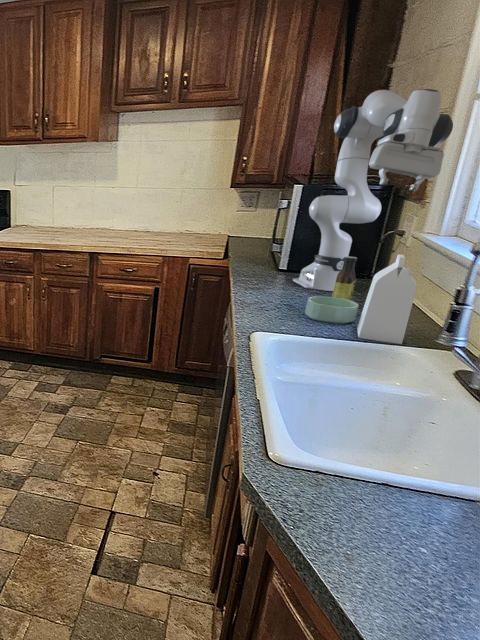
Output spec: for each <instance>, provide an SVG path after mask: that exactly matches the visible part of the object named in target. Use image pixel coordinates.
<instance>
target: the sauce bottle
mask: <svg viewBox="0 0 480 640" xmlns="http://www.w3.org/2000/svg"><path fill="white" fill-rule="evenodd" d="M357 261H358V257H356V256H348V257H344V263H343V267H342V270H341V271H340V272H339V273H338V275H337V278H336V282H335V285H334V290H333V291H332V294H331V297H336V298H342V299H347V300H351V301H352V297H353V293H354V290H355V285H356V281H357V278H356V272H355V267H356V263H357Z"/></svg>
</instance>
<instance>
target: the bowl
mask: <svg viewBox="0 0 480 640" xmlns="http://www.w3.org/2000/svg"><path fill="white" fill-rule="evenodd" d="M359 307H360V306H359V304H358V303H357V302H355V301H354V300H352V299H351V300H347V299H342V298H336V297H332V296H327V295H326V296H325V295H324V296H322V295H314V296H309V297H308V298H307V302H306V305H305V310H304V314H305V316H307V317H308V318H310V319H312V320H314V321H318V322H322V323H328V324H339V325H340V324H343V325H344V324H349V323H351V322H353V321H356V317H357V314H358V310H359Z"/></svg>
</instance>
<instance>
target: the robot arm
mask: <svg viewBox="0 0 480 640" xmlns="http://www.w3.org/2000/svg"><path fill="white" fill-rule="evenodd" d="M441 103H442V93H441V91H439V90H438V89H432V88H418V89H416V90H413V91H412V92H411V94H410V95H409V98H408V100H406V99H405V98H403V96H401V95H399V94H397V93H396V92H395V91H392V90H388V89H378V90H374V91H373V92H371V93H370V94H369V95H367V97H366V98H365V99H364V101H363V103H362V106H359V107H358V106H356V105H352V106H351V107H350V108H346V109H344V110H342V111H341V112H340V113H338V115H337V117H336V119H335V121H334V124H333V133H334V135H335V136H336V137H338V138H341V139H343V141H342V143H341V147H340V149H339V153H338V157H337V162H336V168H335V173H334V182H335V184H337V186H339V187H341V188H343V189H345V190H346V192H347V195H342V194H341V195H340V194H339V195H337V194H328V195H320V196H316V197H315V198H314V199H313V200H312V202H311V203H310V205H309V207H308V213H309V217H310V218H311V219H312V220H313V221H314V222H315V223H316V225H317V226H318V227H319V230H320V234H321V235H320V237H321V238H320V245H319V250H318V254H314V256H313V258H314V260H313V262H312V263H310V264H309V265H306V266H304V267H303V268H302V269H301V271H300V274H299V277H295V278H292V282H293V283H296V284H297V285H299V286H301V287H303V288H305V289H311V290H318V291H324V292H325V291H327V292H333V290H334V285H335V282H336V278H337V275H338V273H339V272H340V271H341V270H342V267H343V263H344V257H349V256H350V255H349V254H350V251H351V247H352V243H353V238H352V236H351V235H350V234H349V233H348V232H346V231H344V230H342V229H340V225H341V224H366V223H372V222H374V221H376V220H377V219H378V217H379V216H380V215H381V212H382V203H381V201H380V199H379V198H377V197H376V196H375V195H374V194H373V193H372V192H371V189H370V188H369V186H368V185H369V184H368V169H373V170H379V171H378V176H379V178H380V179H379V180H380V181H379V185H380V186H386V185H388V182H389V180H390V178H388V177H387V173H388V172H389V173H394V174H400V175H405V176H411V177H416V178H415V182H414V183H413V184H410V185H409V191H413V192H416V191H418V189H419V187H420V185H421V184H422V183H423V182H424V181H425V180H426V179H427V180H431V179H434V178H437V177H438V176H440V173H441V171H442V164H443V160H444V156H445V152H444V151H443V150H442V149H441V148H440V147H437V146H438V145H441V144H442V143H444V142H445V141H447V139H448V138H449V137H450V136H451V134H452V131H453V128H454V121H453V119H452V117H451V115H450V114H448V113H439V112H440V108H441ZM375 140H377V146H376V147H375V148H374V150H373V151H372V153H371V148H372V144H373V143H374V141H375Z"/></svg>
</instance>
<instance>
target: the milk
mask: <svg viewBox="0 0 480 640" xmlns="http://www.w3.org/2000/svg"><path fill="white" fill-rule="evenodd" d="M405 261H406V256H405V255H404V254H397V256H396V259H395V262H393V263H392V264H390V265H388V266H386V267H384V268H382V269H381V270H379V271H378V272H376V273H374V275H373V277H372V280H371V283H370V286H369V290H368V293H367V296H366V298H365V302H364V306H363V308H362V312H361V314H360V317H359V321H358V323H357V326H356V332H357V337H358V339H363V340H369V341H370V340H371V341H375V342H376V341H377V342H383V343H391V344H396V345H397V344H398V345H403V343H404V342H403V341H404V338H405V334H406V330H407V327H408V322H409V319H410V315H411V311H412V307H413V303H414V300H415V295H416V292H417V289H418V288H417V287H418V282H417V281H416V280H415V278H414V277H413V276H414V275H415V273H414V271H413V270H412V269H411V267H405Z"/></svg>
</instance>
